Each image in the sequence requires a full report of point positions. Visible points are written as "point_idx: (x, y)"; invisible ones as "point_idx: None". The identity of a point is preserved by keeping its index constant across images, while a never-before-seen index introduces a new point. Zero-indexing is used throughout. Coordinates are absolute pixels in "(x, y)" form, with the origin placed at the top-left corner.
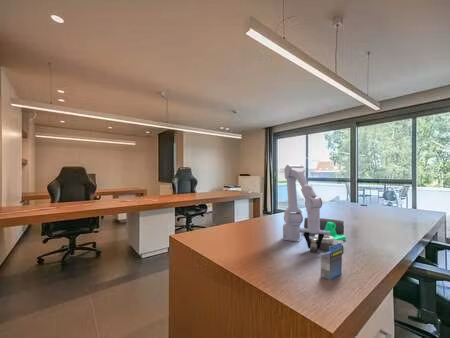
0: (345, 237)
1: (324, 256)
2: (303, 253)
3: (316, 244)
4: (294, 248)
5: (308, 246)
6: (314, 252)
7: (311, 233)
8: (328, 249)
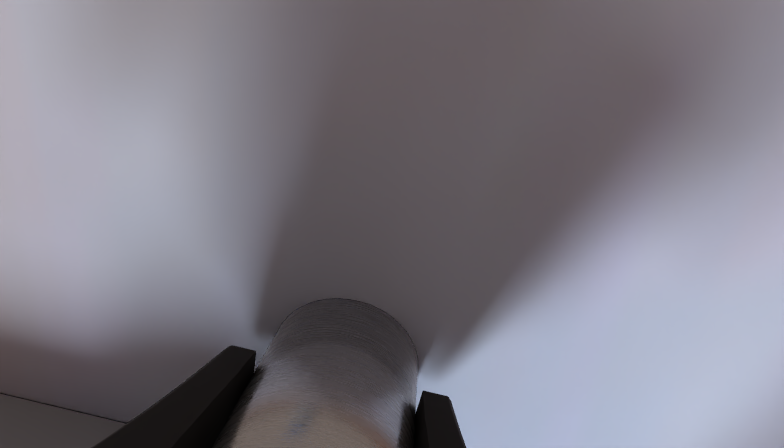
0: None
1: None
2: (568, 215)
3: (234, 439)
4: (681, 439)
5: (443, 421)
6: (339, 301)
7: None
8: None
